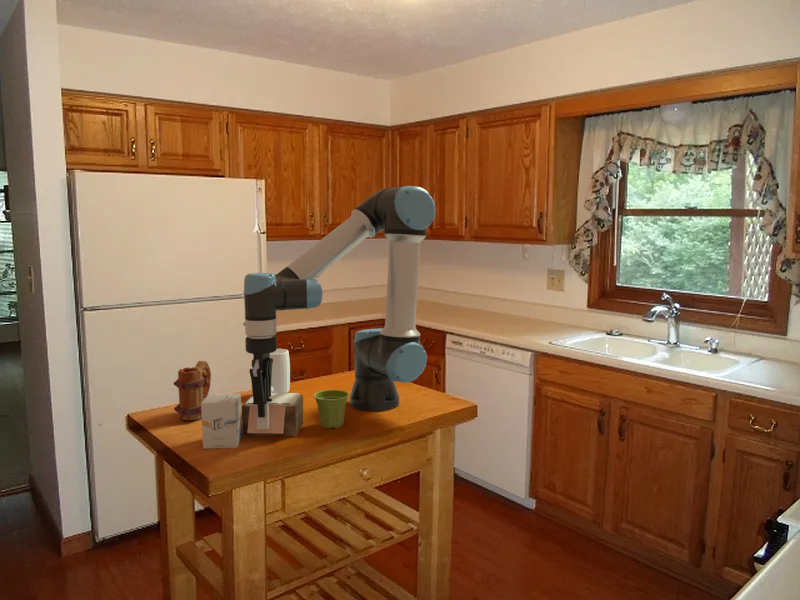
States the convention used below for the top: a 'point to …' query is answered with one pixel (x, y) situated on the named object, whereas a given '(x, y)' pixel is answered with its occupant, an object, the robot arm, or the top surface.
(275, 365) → the cup
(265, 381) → the robot arm
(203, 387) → the mug
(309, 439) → the top surface
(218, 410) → the ink box
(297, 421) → the block
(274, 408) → the panel
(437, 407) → the top surface
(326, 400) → the plant pot
